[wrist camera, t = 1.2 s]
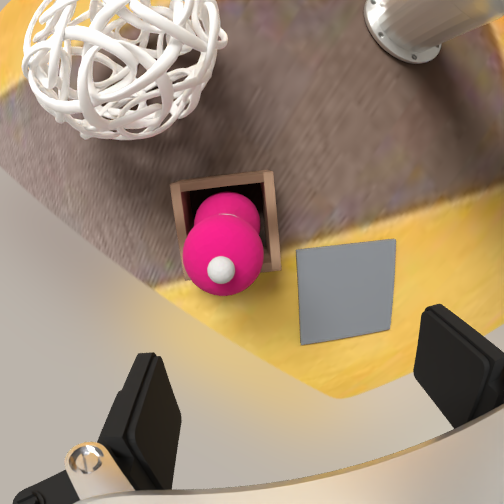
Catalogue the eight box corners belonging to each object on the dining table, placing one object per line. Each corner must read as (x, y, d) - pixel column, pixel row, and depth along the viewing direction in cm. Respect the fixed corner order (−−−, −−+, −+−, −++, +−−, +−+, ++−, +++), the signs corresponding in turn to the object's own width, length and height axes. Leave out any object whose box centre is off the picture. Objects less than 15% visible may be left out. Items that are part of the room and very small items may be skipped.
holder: (179, 180, 37) (169, 183, 31) (267, 170, 37) (273, 171, 31) (191, 263, 40) (184, 280, 34) (275, 254, 40) (281, 270, 34)
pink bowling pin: (225, 257, 40) (217, 344, 21) (186, 215, 38) (140, 269, 19) (269, 220, 39) (302, 279, 20) (231, 175, 37) (225, 191, 18)
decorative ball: (134, 179, 37) (52, 199, 18) (55, 78, 32) (-37, 47, 13) (261, 77, 34) (284, 7, 16) (168, -17, 29) (133, -103, 11)
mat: (295, 249, 40) (296, 251, 40) (393, 238, 40) (395, 239, 40) (300, 342, 44) (301, 344, 44) (388, 327, 44) (389, 329, 44)
